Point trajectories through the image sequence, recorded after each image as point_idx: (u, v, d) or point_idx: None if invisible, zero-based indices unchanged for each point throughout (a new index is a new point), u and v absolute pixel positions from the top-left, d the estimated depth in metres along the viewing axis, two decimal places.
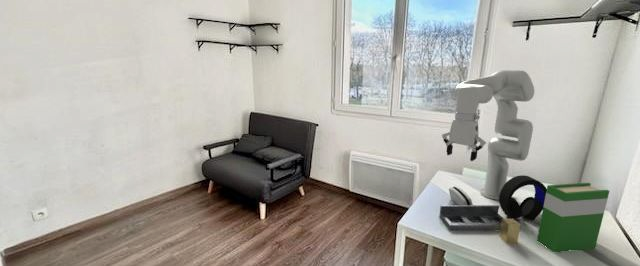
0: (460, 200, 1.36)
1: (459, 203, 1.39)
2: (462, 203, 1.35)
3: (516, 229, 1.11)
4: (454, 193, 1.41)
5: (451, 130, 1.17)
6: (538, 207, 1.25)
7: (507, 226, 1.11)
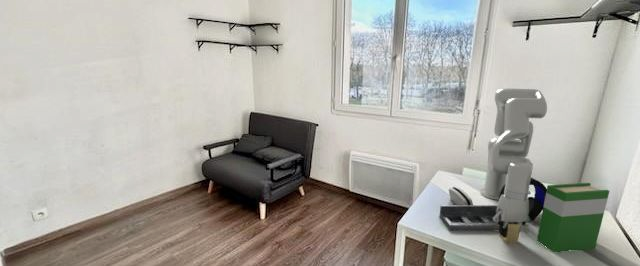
0: (460, 200, 1.36)
1: (459, 203, 1.39)
2: (463, 203, 1.35)
3: (516, 229, 1.11)
4: (454, 193, 1.41)
5: (506, 210, 1.09)
6: (538, 207, 1.25)
7: (508, 226, 1.11)
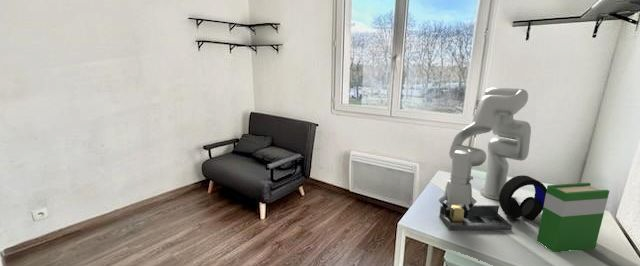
0: None
1: None
2: None
3: (461, 214, 1.22)
4: None
5: (451, 194, 1.20)
6: (538, 207, 1.25)
7: (453, 212, 1.22)
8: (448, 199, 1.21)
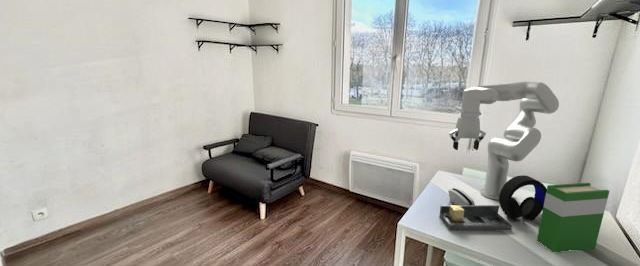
0: (462, 202, 1.34)
1: None
2: None
3: (461, 214, 1.22)
4: (455, 195, 1.39)
5: (461, 128, 1.34)
6: (538, 207, 1.25)
7: (453, 212, 1.22)
8: (459, 133, 1.35)
